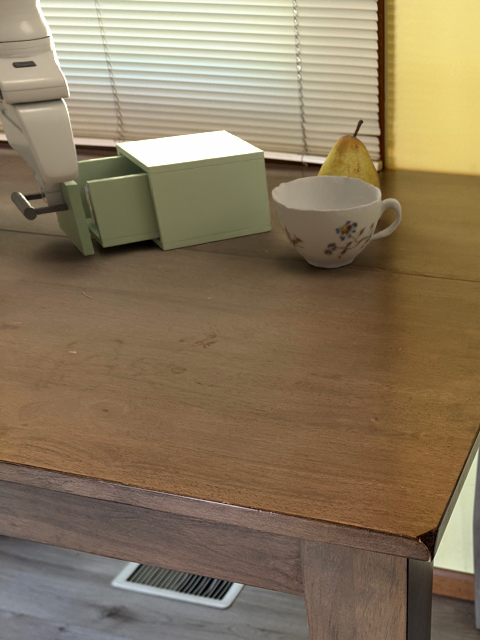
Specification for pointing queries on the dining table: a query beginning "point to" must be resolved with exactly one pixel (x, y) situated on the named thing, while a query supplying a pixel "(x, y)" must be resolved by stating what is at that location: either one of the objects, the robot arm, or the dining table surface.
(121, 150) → the cabinet
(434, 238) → the dining table surface
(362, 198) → the teacup
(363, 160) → the fruit
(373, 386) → the dining table surface
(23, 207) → the drawer
